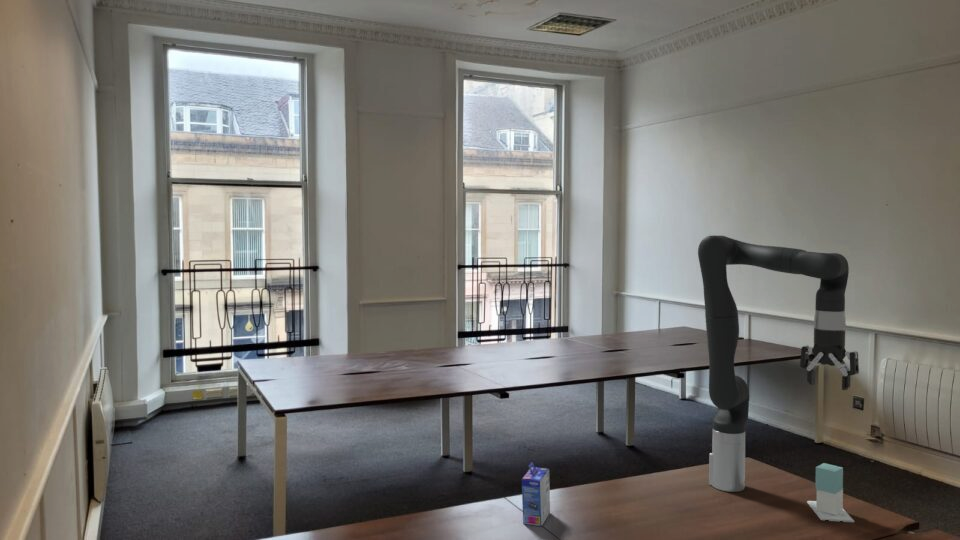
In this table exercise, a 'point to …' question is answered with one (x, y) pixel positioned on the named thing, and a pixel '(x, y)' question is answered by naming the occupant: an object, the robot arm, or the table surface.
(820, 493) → the white block
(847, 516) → the external hard drive
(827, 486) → the teal block
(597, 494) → the table surface
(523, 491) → the ink cartridge box
